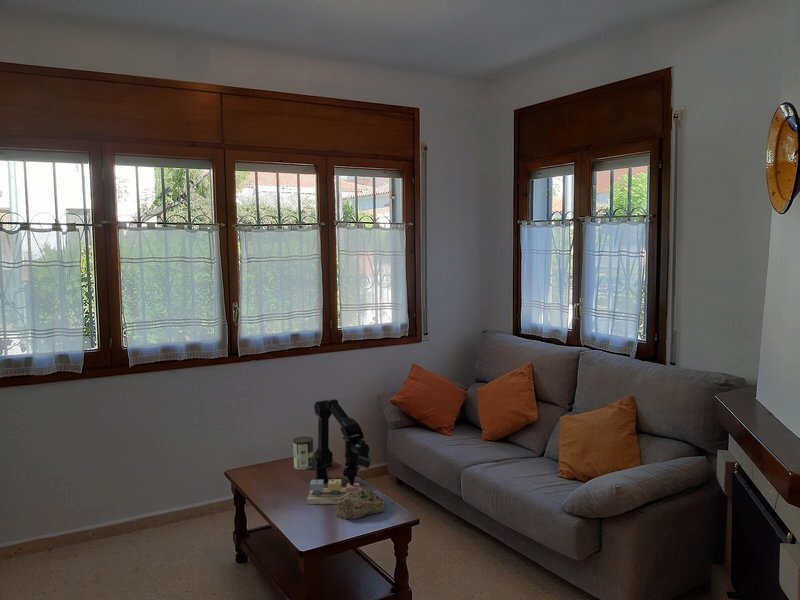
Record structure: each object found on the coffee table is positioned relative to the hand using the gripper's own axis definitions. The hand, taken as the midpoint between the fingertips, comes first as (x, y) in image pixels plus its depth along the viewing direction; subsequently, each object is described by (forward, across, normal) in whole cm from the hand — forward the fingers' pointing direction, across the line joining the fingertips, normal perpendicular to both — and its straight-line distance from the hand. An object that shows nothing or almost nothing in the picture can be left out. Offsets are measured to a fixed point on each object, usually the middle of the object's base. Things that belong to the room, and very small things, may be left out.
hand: (352, 484), depth 290 cm
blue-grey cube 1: (+4, 0, +16) cm, 16 cm away
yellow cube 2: (+4, 0, +8) cm, 9 cm away
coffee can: (+6, +43, +29) cm, 52 cm away
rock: (+6, -16, -4) cm, 18 cm away
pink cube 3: (+6, 0, 0) cm, 6 cm away
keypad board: (+6, 0, +8) cm, 10 cm away
